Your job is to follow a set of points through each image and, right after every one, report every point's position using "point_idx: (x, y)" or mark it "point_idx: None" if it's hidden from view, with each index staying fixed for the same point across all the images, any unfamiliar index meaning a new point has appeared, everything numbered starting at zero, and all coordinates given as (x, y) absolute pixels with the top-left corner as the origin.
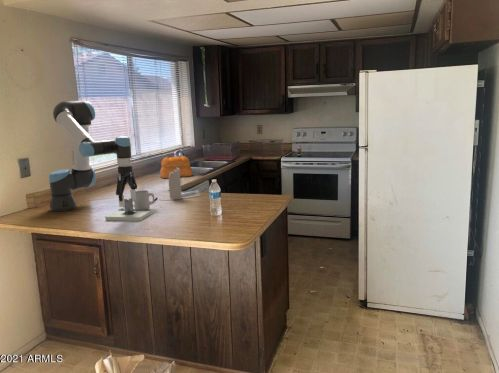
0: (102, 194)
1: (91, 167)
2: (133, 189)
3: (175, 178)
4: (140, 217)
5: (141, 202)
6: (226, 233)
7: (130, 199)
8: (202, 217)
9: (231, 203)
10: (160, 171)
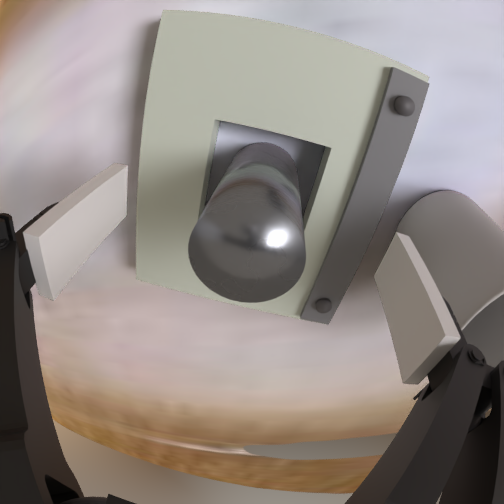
0: None
1: None
2: (423, 370)
3: None
4: (145, 279)
5: None
6: (86, 424)
7: (217, 289)
8: (208, 431)
9: (362, 462)
10: None
